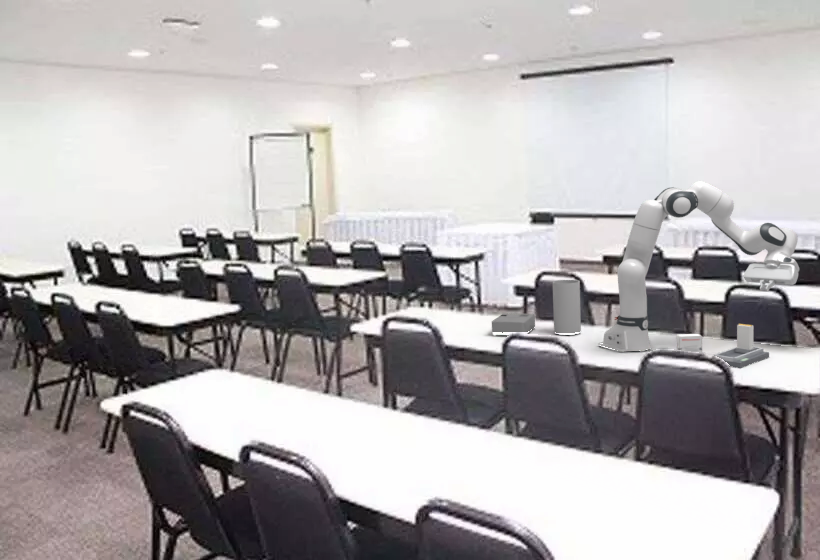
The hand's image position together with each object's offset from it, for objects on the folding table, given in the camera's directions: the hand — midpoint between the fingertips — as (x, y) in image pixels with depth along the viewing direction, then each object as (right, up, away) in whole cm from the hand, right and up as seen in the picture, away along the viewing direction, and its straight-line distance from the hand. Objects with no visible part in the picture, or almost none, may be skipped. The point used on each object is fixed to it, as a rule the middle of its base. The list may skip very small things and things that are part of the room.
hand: (763, 290), depth 296 cm
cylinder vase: (-67, -22, +57) cm, 90 cm away
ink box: (-34, -29, -12) cm, 46 cm away
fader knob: (-10, -24, -6) cm, 27 cm away
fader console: (-14, -27, -9) cm, 32 cm away
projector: (-91, -22, +66) cm, 114 cm away
